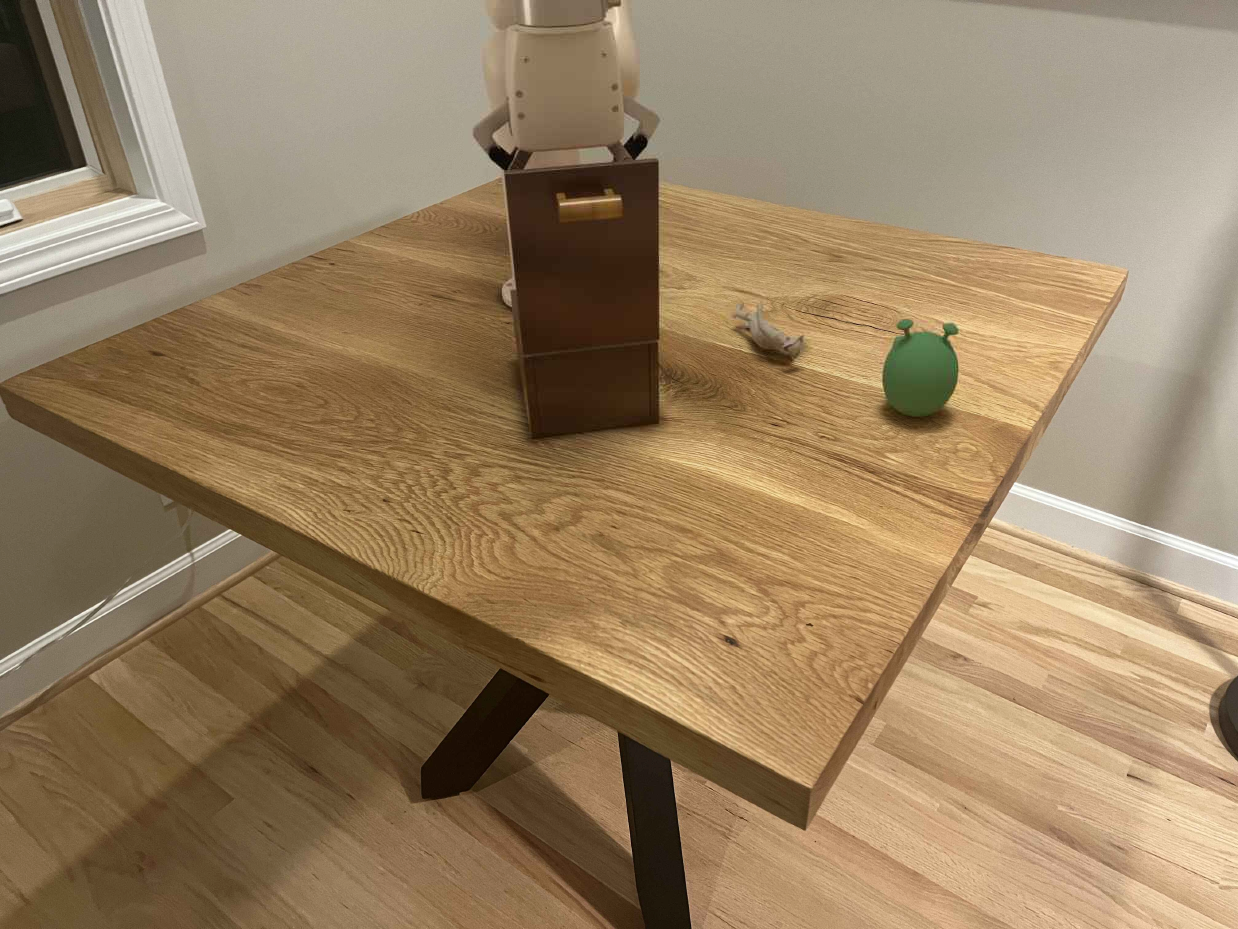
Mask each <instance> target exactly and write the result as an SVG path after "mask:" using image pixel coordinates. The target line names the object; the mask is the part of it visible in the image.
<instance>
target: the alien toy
mask: <svg viewBox="0 0 1238 929" xmlns="http://www.w3.org/2000/svg"><path fill="white" fill-rule="evenodd" d="M913 326H914V321H913V320H912V319H909V318H902V319H900V321H898V322H897V324H896V329H898V330H899V331H902V332H903V333H904V335H898V336H897V335H896V336H895V338H894V340H893V343H892V346H891V349H890V350H889V352H888V353H887V355H886V358H885V360H884V364H883V368H882V374H881V383H882V388H883V392H884V395H885V397H886V399H887V401H888V402H889V404H890V405H891V406H892V407H893V409H894V410H896V411H897V412H899V413H900V414H903V415H904V416H908V417H913V418H921V417H927V416H930V415H933V414H935V413H937V412H938V411H940V410H941V409H942V408H944V406H945V405H947V403H948V402H949V400H950V399H951V398H952V396H953V395H954V393H955V390H956V388H957V384H958V380H959V369H960V368H959V360H958V355H957V353H956V351H955V349H954V347H953V346H952V344H951V339H948V338H949V337H950V336H956V335H958V334H959V332H960V331H959V329H958V328H959V327H958V326H957V325H956V324H955V323H953V322H946V323H944V324H942V328H943V329H942V330H943V331H944V334H943V335H942V336H941V335H940V334H938V333H935V332H930V331H914V332H910V329H911V328H912V327H913Z"/></svg>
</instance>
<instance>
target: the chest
mask: <svg viewBox="0 0 1238 929" xmlns="http://www.w3.org/2000/svg"><path fill="white" fill-rule="evenodd" d="M510 293H511V302H512V308H511V309H512V310H511V311H512V320H513V330H514V338H515V347H516V357H517V365H518V371H519V374H520V375H519V376H520V382H521V387H522V392H523V393H522V394H523V398H524V404H525V410H526V415H527V420H528V427H529V431H530V438H531V439H535V438H536V439H537V438H544V437H552V436H561V435H570V434H577V433H586V432H592V431H594V432H595V431H602V430H611V429H617V428H626V427H636V426H643V425H651V424H658V423H660V386H659V385H660V372H659V371H660V370H659V367H660V366H659V365H660V360H659V355H660V354H659V353H660V352H659V340H656V341H647V342H638V343H629V344H620V345H610V346H601V347H592V348H583V349H574V350H565V351H556V352H547V353H538V354H529V355H523V352H522V343H521V334H520V324H519V314H518V305H517V295H516V290H510Z"/></svg>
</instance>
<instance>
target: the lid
mask: <svg viewBox="0 0 1238 929" xmlns="http://www.w3.org/2000/svg"><path fill="white" fill-rule="evenodd" d="M659 168H660V161H659V160H658V158H657V157H654V158H653V157H652V158H642V159H635V160H628V161H616V162H612V161H605V162H594V163H581V165H569V166H557V167H545V168H534V169H522V170H510V171H504V179H505V189H506V198H507V208H508V218H509V227H510V237H511V247H512V256H513V266H514V276H515V285H516V295H517V305H518V314H519V324H520V334H521V343H522V352H523V355H529V354H538V353H547V352H556V351H565V350H574V349H583V348H592V347H601V346H610V345H620V344H629V343H638V342H647V341H656V340H657V341H660V169H659Z"/></svg>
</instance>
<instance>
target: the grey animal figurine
mask: <svg viewBox="0 0 1238 929" xmlns="http://www.w3.org/2000/svg"><path fill="white" fill-rule="evenodd" d="M744 307H745V303H744V302H743V301H739V302H738V303H737V304H736V306H735V310H734V311H732V313H731V316H730V317H731V318H734V319H736V318H737V319H740V320H741V321H745V324H744V328H746V329H749V332H750V336H751V338H752V340H753V342H754V343H756V345H757V346H759V348H762V349H764V350H772V349H773V350H776V351H777V352H780V353H782V354H784V355H787V356H790V357H791V360H792V361H793V362H795V360H796V359H797V358H798V357H799V356H800V354H801V350H802V348H803V345H804V341H805V339H804V337H805V335H804V334H801V335H797V336H796V337H792V336H789V335H788V334H787V333H786V332H784V331H783V330H781V329H779V328H777V327H775V326H772V325H771V324H770V323H768V322H766V321H765V318H764V315H763V310H764V300H763V299H758V300H757V301H756V312H754V311H743V309H744Z"/></svg>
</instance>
